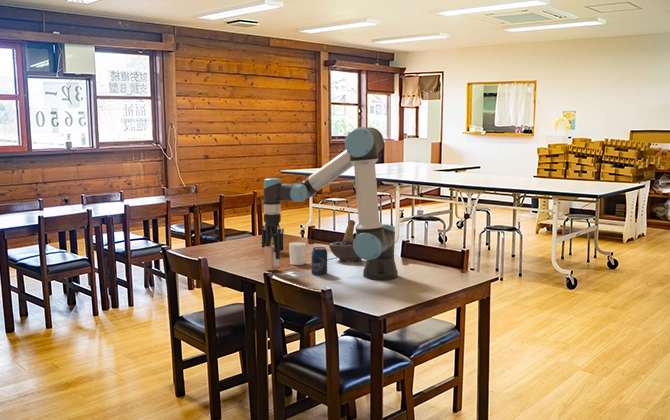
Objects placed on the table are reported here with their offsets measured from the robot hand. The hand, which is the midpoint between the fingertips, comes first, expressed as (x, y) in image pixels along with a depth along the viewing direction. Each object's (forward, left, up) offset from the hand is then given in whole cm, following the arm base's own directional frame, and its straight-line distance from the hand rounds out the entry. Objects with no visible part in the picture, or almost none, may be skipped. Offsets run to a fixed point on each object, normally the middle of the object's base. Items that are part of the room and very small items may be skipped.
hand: (272, 264), depth 279 cm
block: (0, 0, -2) cm, 2 cm away
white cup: (+4, -18, -3) cm, 19 cm away
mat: (-11, -1, -3) cm, 12 cm away
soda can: (-18, -12, -3) cm, 22 cm away
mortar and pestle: (-6, -43, -3) cm, 44 cm away
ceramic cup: (+34, -28, -3) cm, 44 cm away
